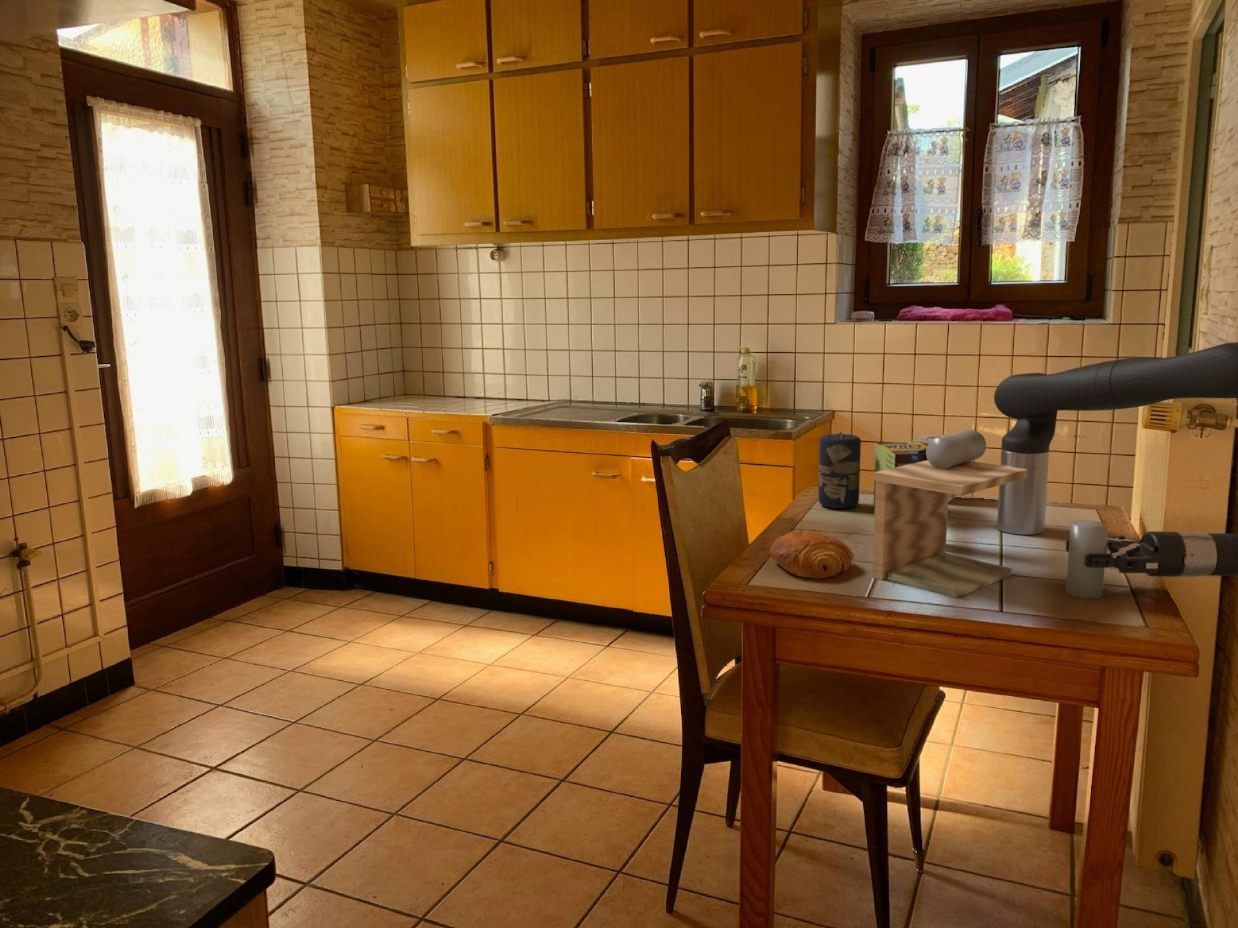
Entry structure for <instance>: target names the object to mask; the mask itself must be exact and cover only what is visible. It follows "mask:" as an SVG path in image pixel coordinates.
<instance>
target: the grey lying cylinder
mask: <svg viewBox="0 0 1238 928" xmlns="http://www.w3.org/2000/svg"><path fill="white" fill-rule="evenodd" d="M986 450H987V441H986V439H985V437H984V435H983V434H982V433H980V432H979V431H978V430H974V429H968V430H964V431H963V430H962V431H960V432H956V433H953V434H952V433H951V434H949V435H948V436H944V437H940V438H937V439H934V440H932V441H931V442H930V443H929V444H928V446H927V449H926V456H927V459H928V461H929V463H930V464H931V465H932V466H933V467H935V468H937V469H946V468H950V467H953V466H956V465H959V464H963V463H966V462H969V461H974V460H978V459H980V458H981V457H983V456H984V454H985V452H986Z"/></svg>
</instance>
